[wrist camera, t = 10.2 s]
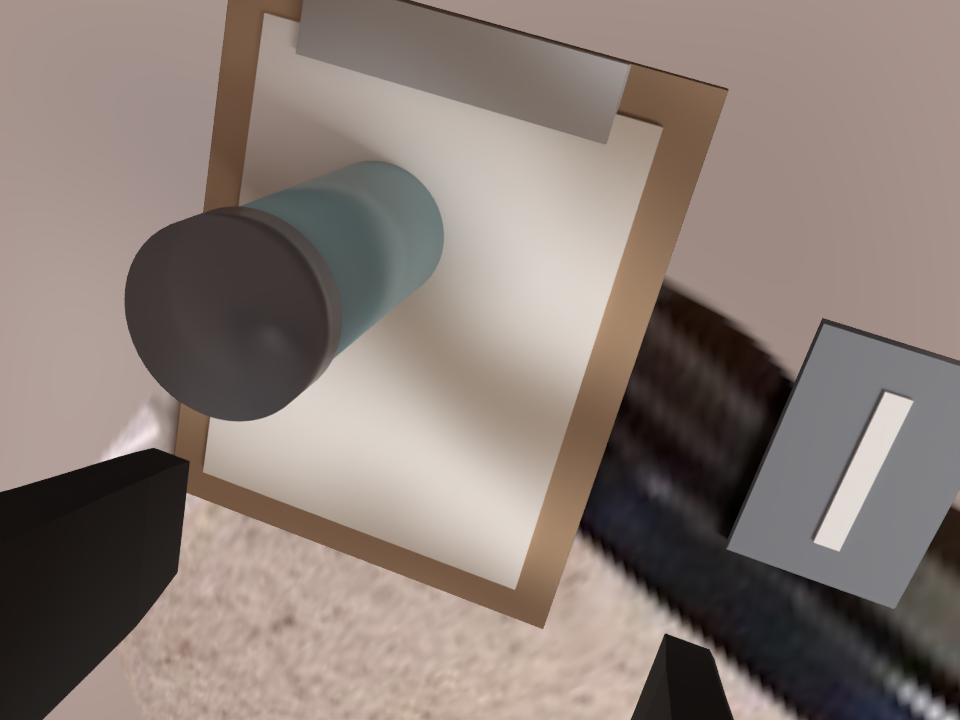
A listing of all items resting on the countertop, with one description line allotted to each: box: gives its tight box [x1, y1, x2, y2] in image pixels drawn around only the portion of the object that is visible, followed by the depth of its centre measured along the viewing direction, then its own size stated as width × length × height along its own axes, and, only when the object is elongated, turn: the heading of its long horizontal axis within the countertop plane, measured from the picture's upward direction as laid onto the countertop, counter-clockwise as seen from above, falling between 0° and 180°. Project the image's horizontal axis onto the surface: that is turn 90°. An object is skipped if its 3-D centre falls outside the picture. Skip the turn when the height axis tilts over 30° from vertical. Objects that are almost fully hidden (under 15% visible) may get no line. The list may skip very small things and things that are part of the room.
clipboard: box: [175, 0, 728, 629], centre depth 22 cm, size 14×11×1 cm
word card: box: [727, 318, 960, 609], centre depth 20 cm, size 6×4×1 cm, turn 166°
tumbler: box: [125, 161, 444, 422], centre depth 18 cm, size 3×3×7 cm
